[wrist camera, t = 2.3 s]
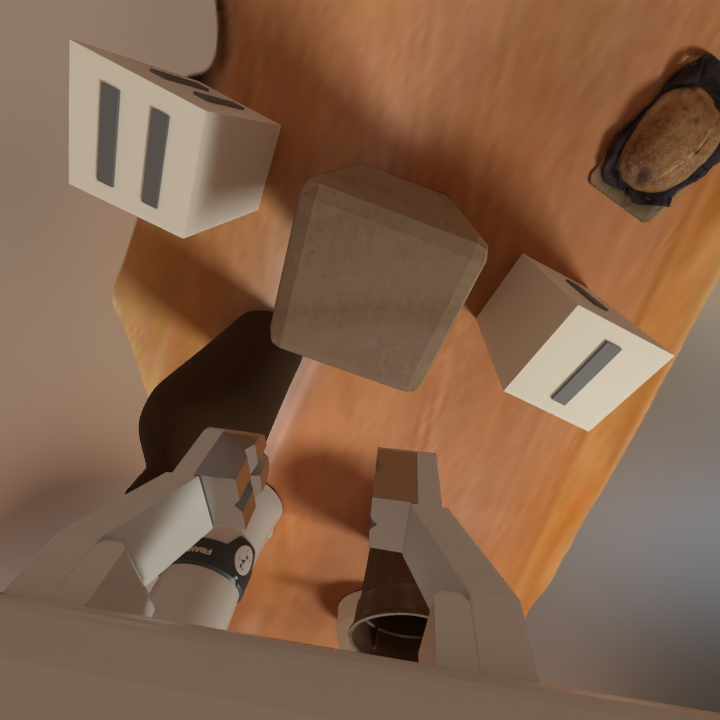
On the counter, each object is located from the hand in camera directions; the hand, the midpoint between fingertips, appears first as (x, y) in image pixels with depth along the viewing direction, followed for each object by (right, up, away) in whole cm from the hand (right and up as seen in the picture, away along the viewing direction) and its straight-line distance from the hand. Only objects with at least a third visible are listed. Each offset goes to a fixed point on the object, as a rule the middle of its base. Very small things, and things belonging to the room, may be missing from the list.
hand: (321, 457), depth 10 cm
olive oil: (-11, +5, +35) cm, 37 cm away
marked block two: (-11, +23, +25) cm, 35 cm away
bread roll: (+27, +21, +21) cm, 40 cm away
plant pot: (+9, -27, +51) cm, 58 cm away
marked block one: (+19, +9, +29) cm, 36 cm away
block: (+4, +16, +27) cm, 31 cm away
